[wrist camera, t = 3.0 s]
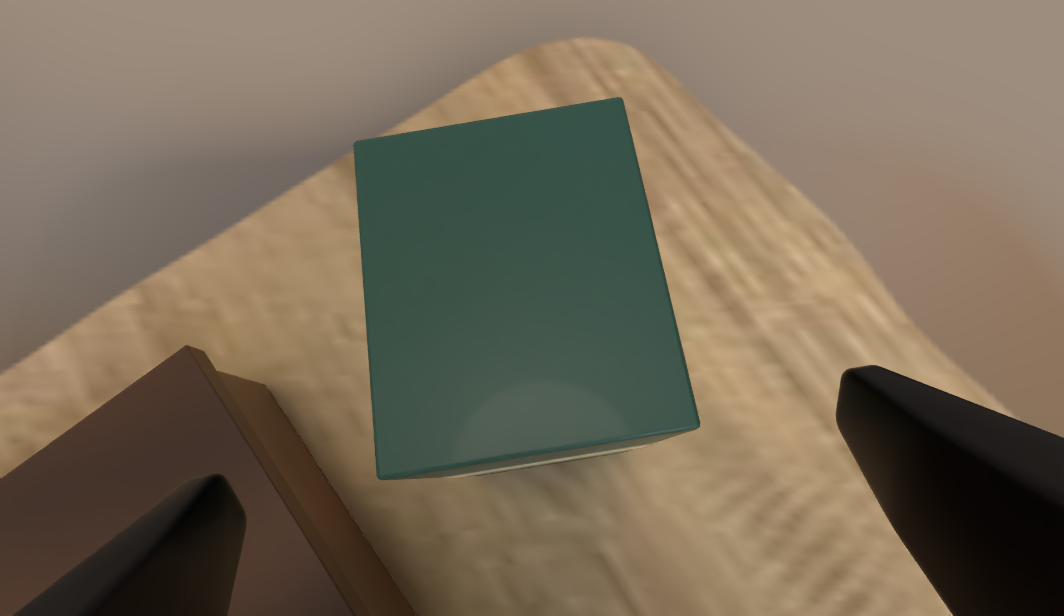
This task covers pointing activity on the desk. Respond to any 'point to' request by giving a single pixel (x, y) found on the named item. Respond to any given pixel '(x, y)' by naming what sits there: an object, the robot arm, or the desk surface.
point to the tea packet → (515, 296)
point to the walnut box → (168, 460)
